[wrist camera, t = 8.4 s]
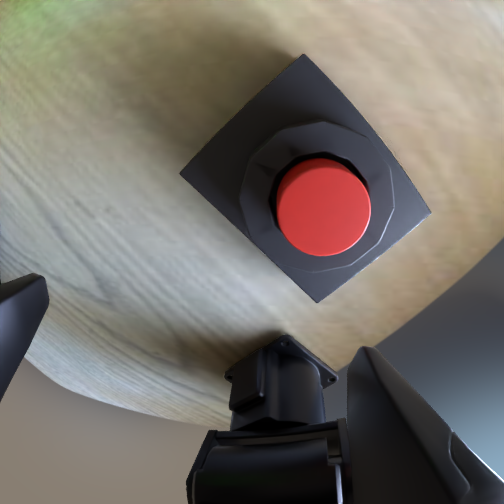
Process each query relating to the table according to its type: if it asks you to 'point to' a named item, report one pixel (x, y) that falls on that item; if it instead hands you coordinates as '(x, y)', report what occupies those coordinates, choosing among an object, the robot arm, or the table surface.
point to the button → (322, 207)
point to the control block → (290, 154)
